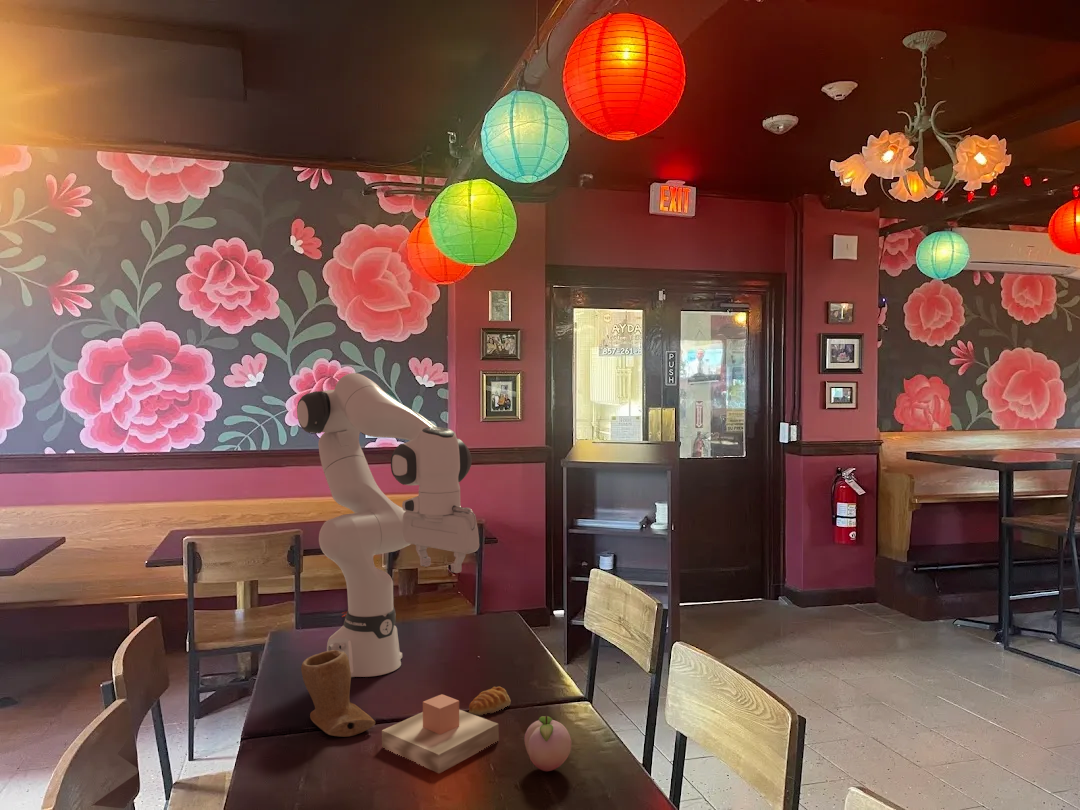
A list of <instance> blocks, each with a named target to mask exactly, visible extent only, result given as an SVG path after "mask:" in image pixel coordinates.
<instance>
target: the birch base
mask: <svg viewBox="0 0 1080 810" xmlns="http://www.w3.org/2000/svg"><path fill="white" fill-rule="evenodd" d="M499 730H500V729H499V723H498V722H495V721H492V720H490V719H487V718H485V717H482V716H480V715H476V714H473V713H470V712H469V711H468V712H467V711H465V710H462V709H459V726H458V727H456V728H454V729H452V730H449V731H447V732H445V733H443V734H440V735H439V734H437V733H435V732H433V731H430V730H428V729H426V728H424V727H423V711H422V712H419V713H417V714H415V715H413V716H411V717H408V718H406V719H403V720H402V721H399V722H396V723H394V724H393V725H391V726H388V727H386V728H384V729H382V730H381V748H382V747H383V748H385V749H384V750H386V751H388V750H389V751H388V752H390V751H391V753H392V752H393V753H392V754H395V755H397V754H398V755H397V756H399V755H400V756H399V757H401V756H402V758H403V757H405V758H404V759H406V758H407V759H406V760H408V759H409V760H408V761H410V760H411V762H412V761H414V762H416V763H415V764H417V765H419V764H420V765H419V766H421V767H423V766H424V768H426V769H428V770H429V771H433V772H434V773H436V774H442V773H443V772H444V771H446V770H449V769H450V768H452V767H455V766H456V765H457V764H460V763H461V762H463V761H465V760H467V759H469V758H470V757H473V756H474V755H476V754H478V753H479V751H480V752H482V751H483V750H485V749H487V748H489V747H491V746H492V745H491V744H493V743H494V744H496V743H498V742H499V741H500V737H499V736H500V735H499ZM497 741H498V742H497ZM495 742H496V743H495ZM494 744H493V745H494ZM490 745H491V746H490ZM488 746H489V747H488ZM486 747H487V748H486ZM383 748H382V749H383ZM484 748H485V749H484ZM481 750H482V751H481ZM414 762H413V763H414Z"/></svg>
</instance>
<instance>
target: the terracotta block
mask: <svg viewBox="0 0 1080 810" xmlns="http://www.w3.org/2000/svg"><path fill="white" fill-rule="evenodd" d="M459 710H460V700H458V699H456V698H453V697H450V696H448V695H445V694H442V693H441V694H438V695H436V696H433V697H431V698H429V699H426V700H424V701H422V712H423V727H424V728H426V729H428V730H430V731H433V732H435V733H437V734H439V735H440V734H443V733H445V732H447V731H449V730H452V729H454V728H456V727H458V726H459Z"/></svg>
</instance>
